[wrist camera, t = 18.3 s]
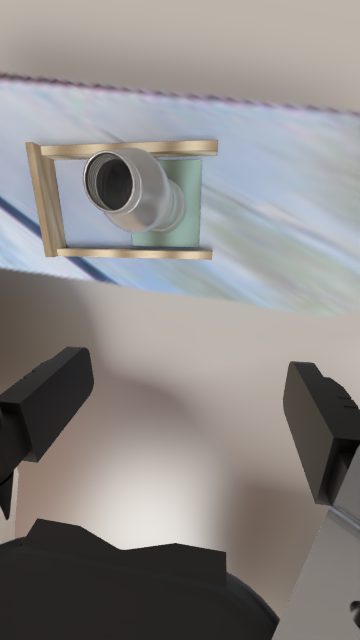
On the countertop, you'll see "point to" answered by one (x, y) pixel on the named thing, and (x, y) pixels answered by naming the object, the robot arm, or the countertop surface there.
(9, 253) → the countertop surface
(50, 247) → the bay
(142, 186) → the plastic bottle
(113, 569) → the robot arm
